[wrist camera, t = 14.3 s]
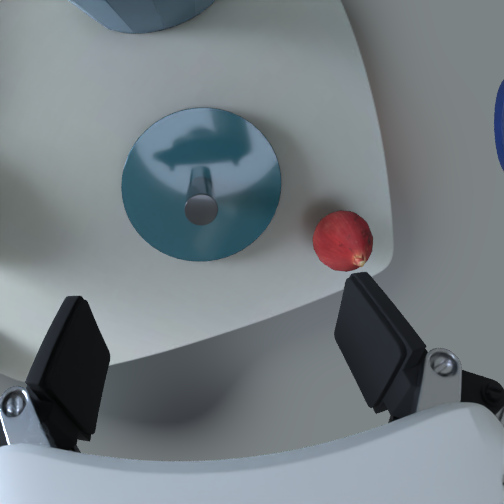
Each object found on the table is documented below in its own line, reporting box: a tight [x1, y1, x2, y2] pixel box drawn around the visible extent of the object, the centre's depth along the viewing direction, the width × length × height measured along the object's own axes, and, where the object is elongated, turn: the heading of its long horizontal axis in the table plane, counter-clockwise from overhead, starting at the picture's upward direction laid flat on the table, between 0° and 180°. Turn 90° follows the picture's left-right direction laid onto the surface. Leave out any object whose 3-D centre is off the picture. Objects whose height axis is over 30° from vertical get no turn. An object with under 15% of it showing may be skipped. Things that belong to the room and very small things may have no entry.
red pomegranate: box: [313, 210, 373, 272], centre depth 26 cm, size 6×6×8 cm
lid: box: [121, 108, 281, 261], centre depth 23 cm, size 15×15×7 cm
